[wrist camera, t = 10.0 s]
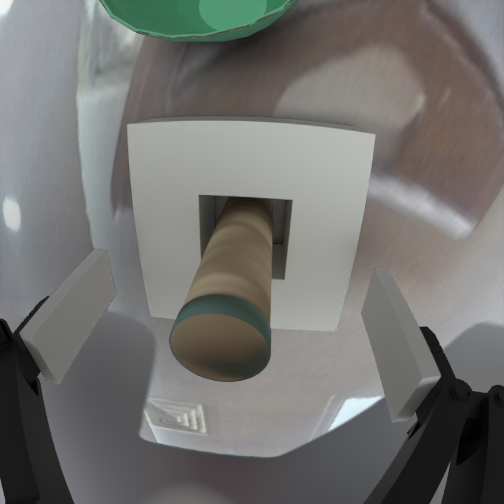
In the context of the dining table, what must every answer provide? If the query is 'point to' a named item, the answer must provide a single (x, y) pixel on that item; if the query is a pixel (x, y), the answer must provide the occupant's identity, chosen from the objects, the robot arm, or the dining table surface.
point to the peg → (230, 297)
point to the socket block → (251, 185)
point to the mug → (197, 17)
